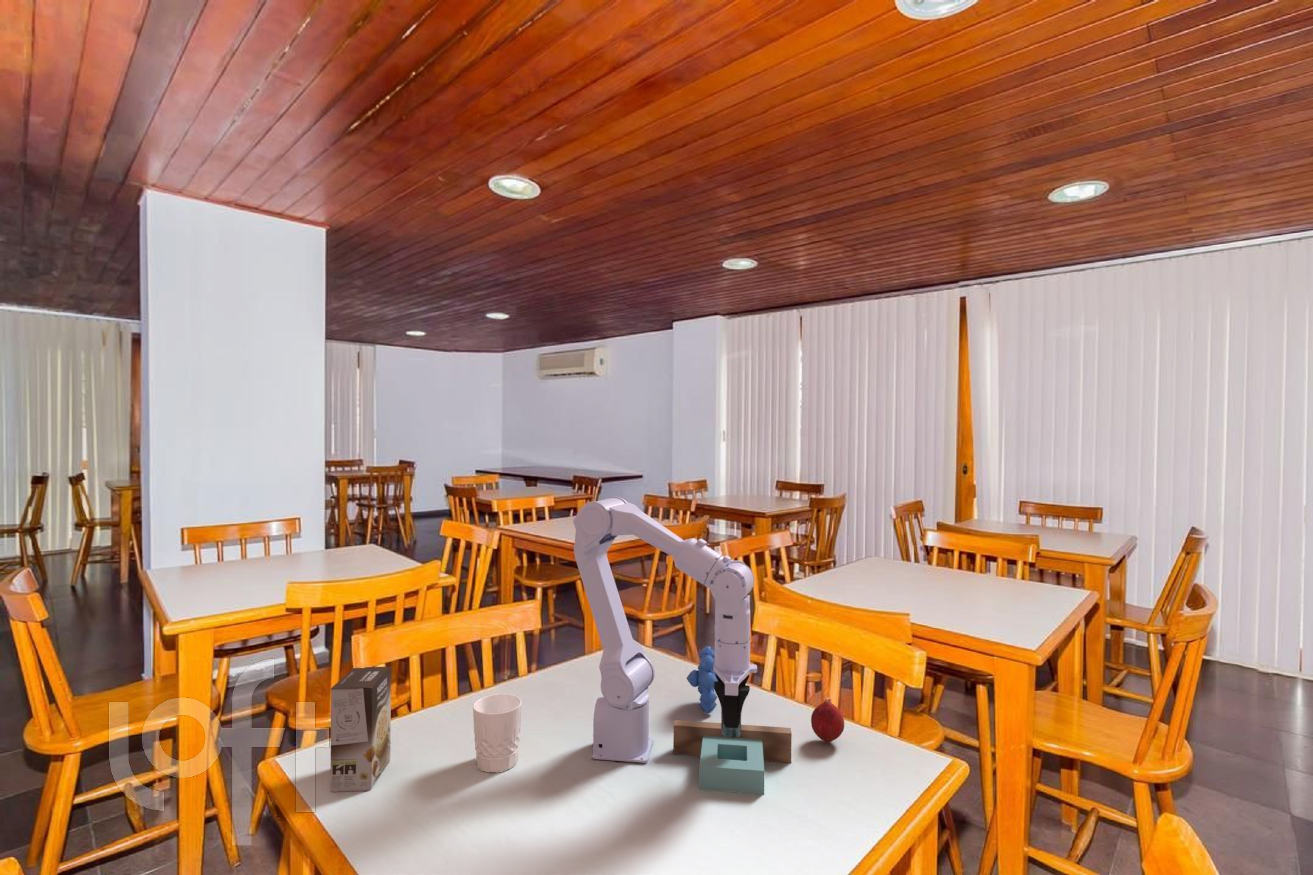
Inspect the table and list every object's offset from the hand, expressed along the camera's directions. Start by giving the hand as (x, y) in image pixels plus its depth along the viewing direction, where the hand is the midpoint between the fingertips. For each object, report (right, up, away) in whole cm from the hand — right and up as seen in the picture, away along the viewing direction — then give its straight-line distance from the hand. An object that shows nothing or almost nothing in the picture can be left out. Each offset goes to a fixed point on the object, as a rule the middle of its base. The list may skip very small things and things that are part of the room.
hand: (731, 721), depth 103 cm
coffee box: (-60, -9, -1) cm, 60 cm away
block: (0, -9, 0) cm, 9 cm away
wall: (+1, -9, +6) cm, 10 cm away
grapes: (-3, -9, +25) cm, 26 cm away
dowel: (0, -2, 0) cm, 2 cm away
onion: (+19, -9, +11) cm, 23 cm away
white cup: (-39, -9, +3) cm, 40 cm away
